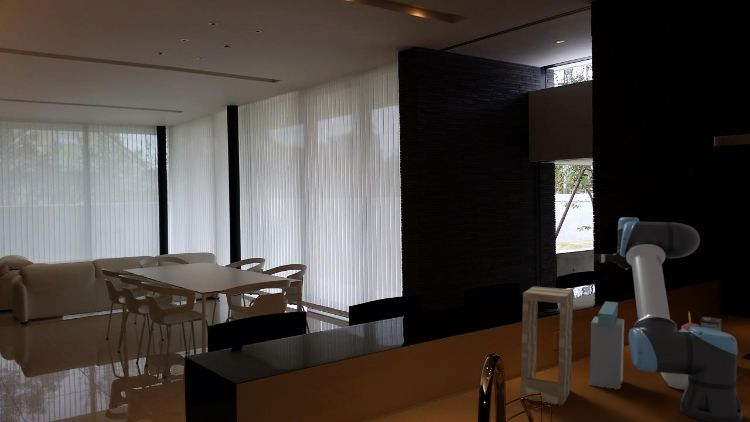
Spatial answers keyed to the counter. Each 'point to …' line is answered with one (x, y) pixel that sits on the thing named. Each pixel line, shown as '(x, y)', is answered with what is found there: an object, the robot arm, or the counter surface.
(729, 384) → the robot arm
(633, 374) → the counter surface
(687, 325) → the cupcake
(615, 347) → the stone block
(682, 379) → the lidded bowl
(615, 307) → the teal block
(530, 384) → the wooden stool frame
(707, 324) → the coffee box
